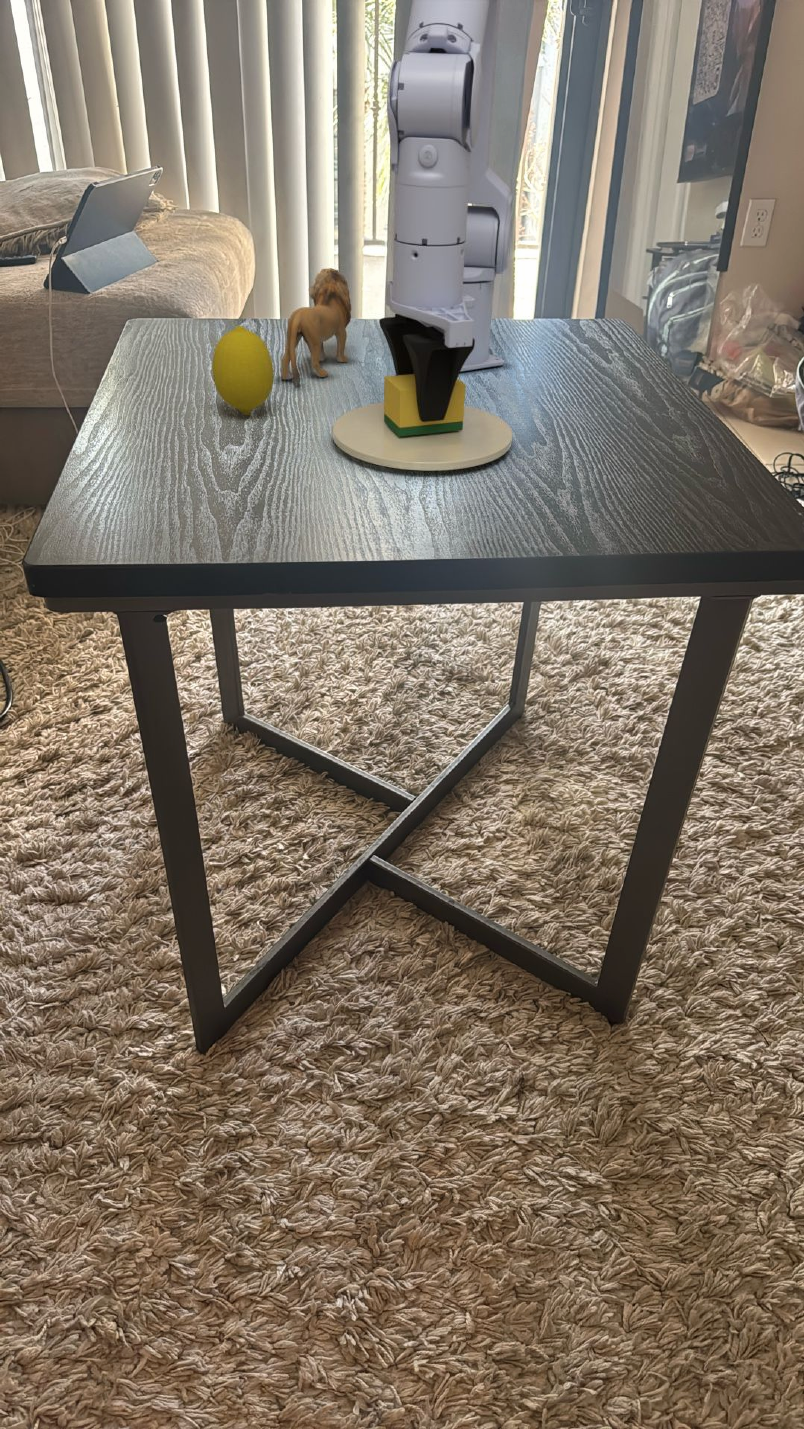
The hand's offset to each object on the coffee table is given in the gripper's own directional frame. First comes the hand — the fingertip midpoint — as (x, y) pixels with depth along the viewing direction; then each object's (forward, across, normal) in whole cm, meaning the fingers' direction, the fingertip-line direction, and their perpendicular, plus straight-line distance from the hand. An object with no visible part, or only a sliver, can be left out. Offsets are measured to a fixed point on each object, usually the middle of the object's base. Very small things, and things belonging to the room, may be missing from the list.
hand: (422, 411), depth 80 cm
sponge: (+1, 0, 0) cm, 1 cm away
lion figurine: (+3, +25, +3) cm, 25 cm away
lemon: (+3, +12, +13) cm, 18 cm away
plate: (+3, 0, 0) cm, 3 cm away
